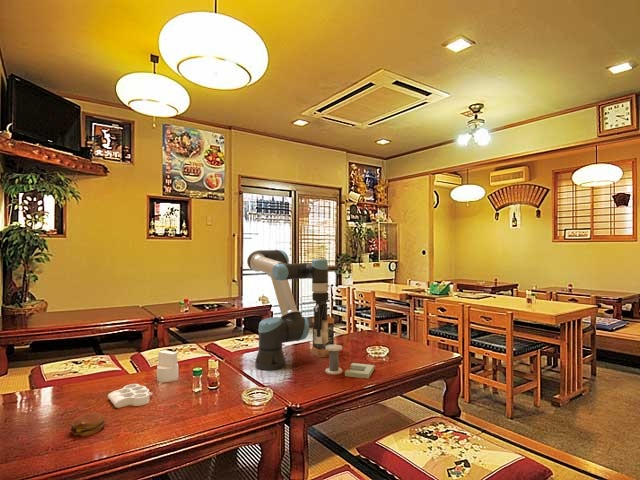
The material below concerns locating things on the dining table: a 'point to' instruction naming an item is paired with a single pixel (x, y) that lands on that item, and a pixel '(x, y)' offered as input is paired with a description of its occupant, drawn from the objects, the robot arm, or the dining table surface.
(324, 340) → the peg
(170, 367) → the base with upright slab
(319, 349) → the whiskey bottle
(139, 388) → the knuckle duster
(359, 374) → the notched board
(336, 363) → the door knob
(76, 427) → the burger
